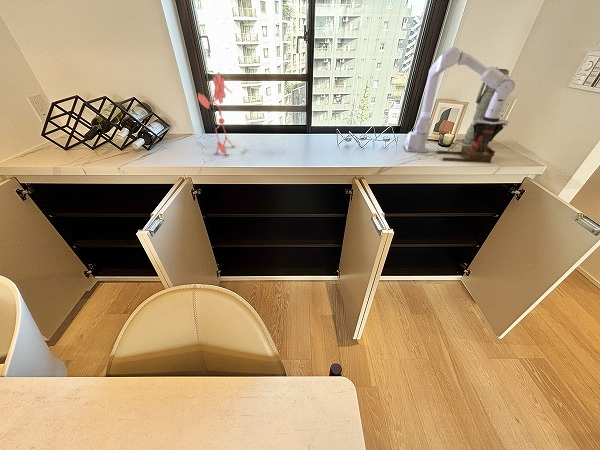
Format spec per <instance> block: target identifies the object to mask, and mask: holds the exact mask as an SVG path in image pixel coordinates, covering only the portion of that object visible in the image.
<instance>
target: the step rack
mask: <svg viewBox="0 0 600 450" xmlns="http://www.w3.org/2000/svg"><path fill="white" fill-rule="evenodd" d="M471 147H472V145H461V150H460V151H457V150H437V152H436V153H437V154H451V155H461V156H462V157H445V156H443V157H442V160H443V161H453V162H455V161H456V162H472V163H473V162H474V163H475V162H476V163H491V161H492V159H493V157H495V153H496V150H494V149H493V148H491V146H489V145H488V146H487V148H486V150H485V152H476V151H473V150H471Z"/></svg>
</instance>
